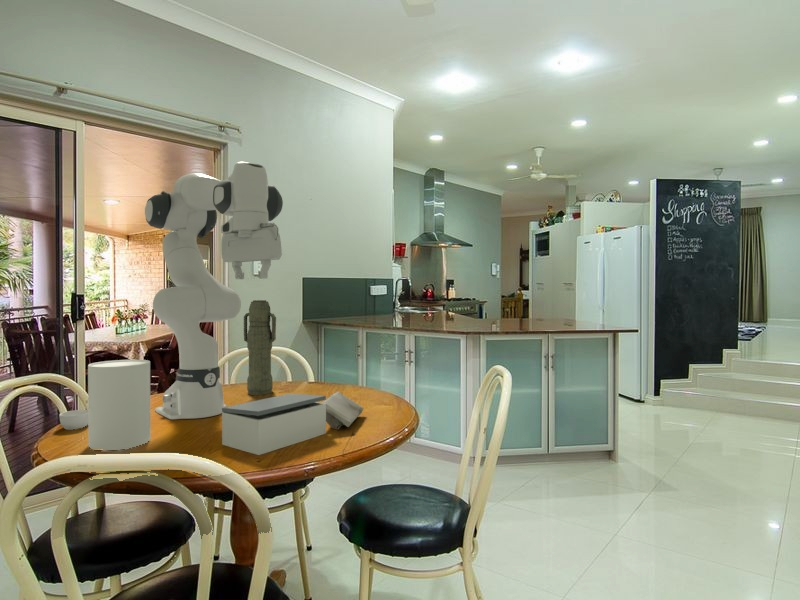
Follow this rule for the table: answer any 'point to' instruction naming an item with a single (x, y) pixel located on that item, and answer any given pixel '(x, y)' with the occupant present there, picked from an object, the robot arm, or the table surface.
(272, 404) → the lid
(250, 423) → the storage box
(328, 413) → the packaged product
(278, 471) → the table surface
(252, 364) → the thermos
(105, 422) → the canister
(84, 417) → the teacup
